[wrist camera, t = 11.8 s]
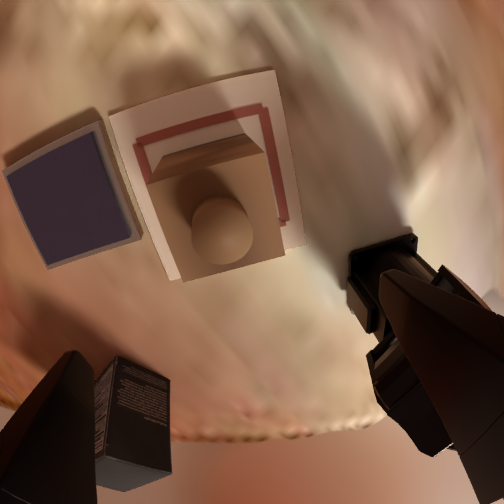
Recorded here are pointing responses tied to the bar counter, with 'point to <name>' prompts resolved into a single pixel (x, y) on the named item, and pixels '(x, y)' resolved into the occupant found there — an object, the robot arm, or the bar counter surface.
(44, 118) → the bar counter surface
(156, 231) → the print sheet
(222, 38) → the bar counter surface
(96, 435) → the small box
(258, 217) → the stamp
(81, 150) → the ink pad
